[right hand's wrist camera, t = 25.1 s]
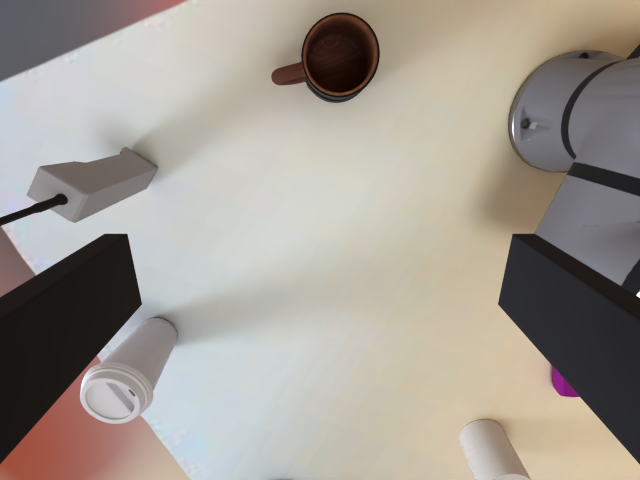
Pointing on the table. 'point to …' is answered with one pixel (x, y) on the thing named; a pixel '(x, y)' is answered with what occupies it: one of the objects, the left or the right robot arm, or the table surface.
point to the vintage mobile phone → (86, 186)
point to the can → (490, 452)
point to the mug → (335, 58)
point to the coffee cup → (129, 374)
